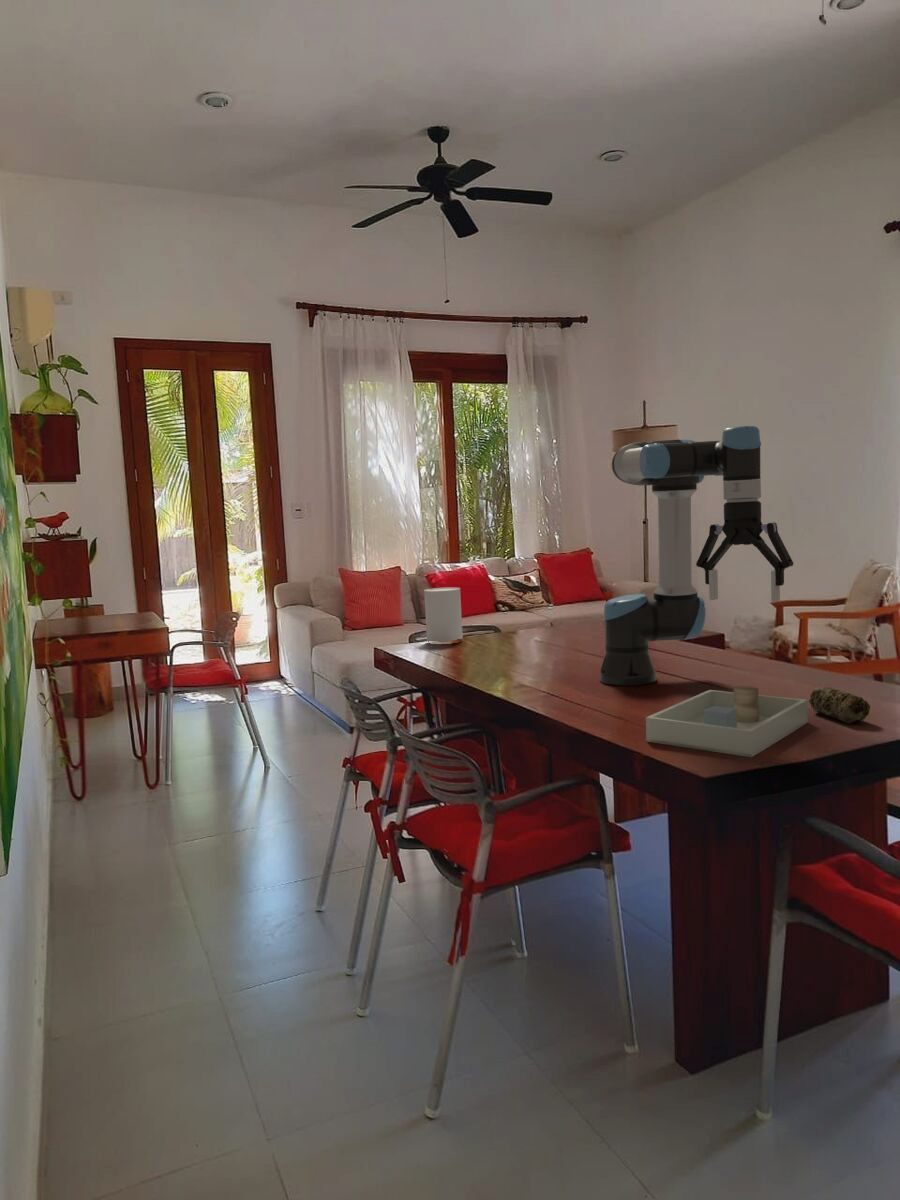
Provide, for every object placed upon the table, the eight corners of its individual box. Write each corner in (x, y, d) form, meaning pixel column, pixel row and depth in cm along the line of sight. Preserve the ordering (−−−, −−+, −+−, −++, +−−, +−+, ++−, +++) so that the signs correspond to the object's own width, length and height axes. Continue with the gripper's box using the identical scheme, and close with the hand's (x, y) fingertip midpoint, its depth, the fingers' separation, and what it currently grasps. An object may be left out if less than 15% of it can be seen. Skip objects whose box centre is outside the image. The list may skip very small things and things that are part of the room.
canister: (455, 645, 317) (452, 590, 315) (421, 644, 322) (418, 591, 320) (467, 639, 330) (465, 587, 328) (435, 639, 334) (432, 587, 332)
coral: (806, 712, 194) (805, 685, 194) (830, 710, 195) (830, 683, 195) (847, 727, 180) (847, 698, 180) (873, 724, 181) (873, 696, 181)
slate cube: (714, 729, 182) (713, 705, 181) (737, 732, 178) (736, 708, 178) (703, 734, 178) (703, 710, 178) (726, 737, 175) (726, 713, 174)
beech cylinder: (740, 716, 191) (739, 685, 191) (762, 718, 188) (761, 687, 187) (730, 721, 188) (729, 689, 187) (753, 723, 184) (752, 691, 184)
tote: (646, 741, 177) (645, 717, 177) (710, 711, 200) (709, 689, 199) (751, 757, 163) (751, 731, 162) (807, 722, 185) (807, 699, 185)
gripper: (679, 503, 189) (681, 600, 191) (795, 498, 172) (796, 604, 174) (694, 502, 194) (697, 596, 196) (808, 497, 178) (809, 600, 180)
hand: (743, 600), depth 185 cm, fingers open, 13 cm apart
